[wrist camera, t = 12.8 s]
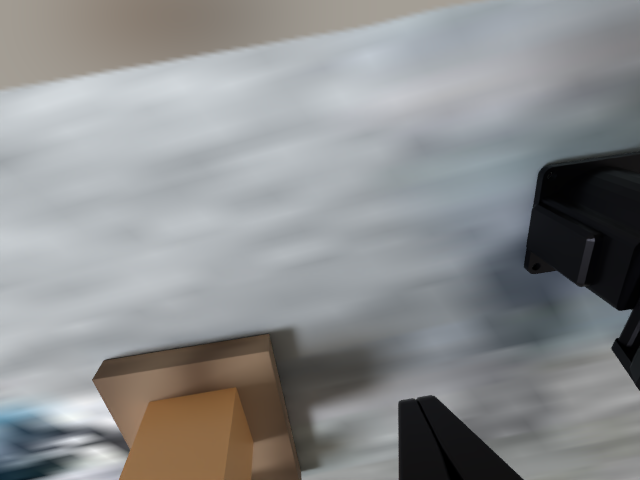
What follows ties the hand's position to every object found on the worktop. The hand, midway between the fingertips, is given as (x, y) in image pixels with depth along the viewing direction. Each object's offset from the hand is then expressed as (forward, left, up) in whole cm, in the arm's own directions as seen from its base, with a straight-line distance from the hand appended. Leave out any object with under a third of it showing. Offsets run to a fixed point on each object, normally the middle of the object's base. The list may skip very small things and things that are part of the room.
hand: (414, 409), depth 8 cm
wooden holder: (+10, +14, -12) cm, 21 cm away
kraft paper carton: (+10, +12, -10) cm, 19 cm away
